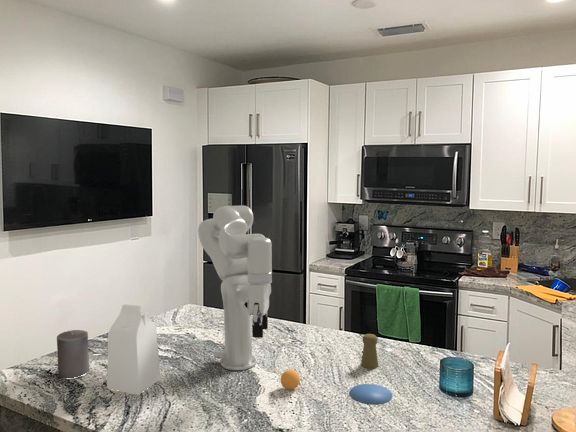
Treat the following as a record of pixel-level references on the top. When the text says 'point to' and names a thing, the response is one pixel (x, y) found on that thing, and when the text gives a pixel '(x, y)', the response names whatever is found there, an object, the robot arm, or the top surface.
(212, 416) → the top surface
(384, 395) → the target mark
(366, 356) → the olive chess pawn
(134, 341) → the milk
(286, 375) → the ball
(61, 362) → the pillar candle
